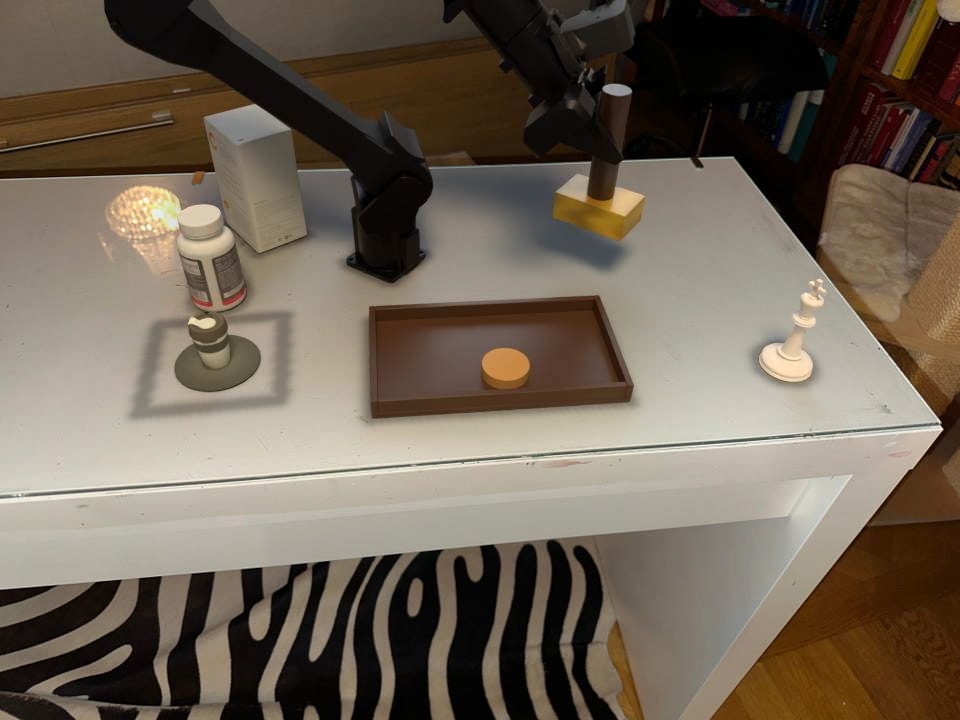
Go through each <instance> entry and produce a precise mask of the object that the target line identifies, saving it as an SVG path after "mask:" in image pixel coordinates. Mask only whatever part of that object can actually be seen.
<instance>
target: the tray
mask: <svg viewBox="0 0 960 720" xmlns="http://www.w3.org/2000/svg"><path fill="white" fill-rule="evenodd" d="M368 327H369V328H368V329H369V331H368V333H369V389H370V390H369V391H370V392H369V393H370V397H369V398H370V410H371V418H372V419H384V418H387V419H388V418H401V417H415V416H416V417H417V416H432V415H446V414H447V415H449V414H461V413H462V414H463V413H478V412H493V411H495V412H496V411H507V410H508V411H511V410H524V409H525V410H527V409H541V408H552V407H553V408H555V407H556V408H557V407H570V406H587V405H602V404H616V403H617V404H618V403H620V404H621V403H630V402H631V400H632V397H633V392H634V389H635V384H634V382H633V379H632V376H631V374H630V372H629V369H628V365H627V363H626V361H625V357H624V355H623V353H622V351H621V348H620V345H619V343H618V340H617V337H616V336H615V333H614V330H613V327H612V325H611V322H610V320H609V317H608V314H607V312H606V308H605V306H604V304H603V300H602V299H601V296H600V294H593V295H575V296H574V295H573V296H554V297H553V296H552V297H533V298H532V297H531V298H530V297H529V298H512V299H494V300H493V299H492V300H491V299H489V300H488V299H487V300H471V301H469V300H468V301H467V300H466V301H449V302H428V303H408V304H387V305H369V306H368ZM499 348H510V349H515V350H517V351H519V352H521V353H523V354H524V355H525V356H526V357H527V358H528V360H529V363H530V369H529V377H528V380H527V381H526V382H525V383H524V384H523V385H522V386H520V387H518V388H514V389H497V388H494V387H492V386H490V385H489V384H487V383H486V382H485V381H484V379H483V377H482V374H481V368H482V360H483V358H484V356H485V355H486V354H487V353H488V352H490V351H492V350H494V349H499Z"/></svg>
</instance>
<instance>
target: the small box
mask: <svg viewBox="0 0 960 720" xmlns="http://www.w3.org/2000/svg"><path fill="white" fill-rule="evenodd" d="M203 122H204V127H205V132H206V137H207V140H208V146H209V150H210V154H211V159H212V163H213V168H214V173H215V177H216V181H217V186H218V189H219V195H220V199H221V204H222V207H223V212H224V217H225V221H226V224H227V225H228V226H229V227H230V228H231V229H232V230H233V231H235V233H236V234H237V235H238V236H240V237H241V239H243V241H245V242H246V243H247V244H248V245H249V246H250V247H251V248H252V249H253V250H254V251H255V252H256V253H257V254H261V253H264V252H266V251H269V250H271V249H272V250H273V249H274V248H277V247H280V246H282V245H285V244H287V243H290V242H294V241H296V240H298V239H301V238H303V237H306V236H307V235H308V231H307V224H306V217H305V211H304V204H303V197H302V190H301V185H300V184H301V183H300V178H299V172H298V164H297V158H296V157H297V156H296V152H295V145H294V138H293V132H292V128H291V127H290V126H288V125H286V124H285V123H283V122H282V121H280V120H279V119H277V118H276V117H274V116H273V115H271V114H270V113H268V112H266V111H265V110H263V109H262V108H260V107H259V106H257V105H256V104H254V103H252V104H249V105H245V106H241V107H238V108H233V109H230V110H225V111H222V112H218V113H214V114H211V115H205V116H204V117H203Z"/></svg>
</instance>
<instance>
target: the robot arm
mask: <svg viewBox="0 0 960 720" xmlns="http://www.w3.org/2000/svg"><path fill="white" fill-rule="evenodd" d="M442 2H443V3H442V4H443V14H442V22H443V23H444V24H446V25H448V24H451V22H453V20H454V19H455V18H457V17H458V16H459V15H460V14H461V12H462V11H463V13H464V14H465V15H466V16H467V18H468V19H469V20H470V21H471V22H472V24H473V25H474V26H475V27H476V28H477V30H478V31H479V32H480V33H481V34H482V36H483V37H484V38H485V39H486V41H487V42H488V43H489V44H490V45H491V47H492V48H493V49H494V50H495V51H496V53H497V54H498V55H499V56H500V58H501V59H500V61H499V64H498V67H499V68H500V69H501V71H502V72H503V74H505V75H507V74H508V73H509V72H510V71H512V72H513V73H514V74H515V76H516V77H517V78H518V79H519V81H520V82H521V83H522V85H524V87H525V88H526V89H527V90H528V92H529V95H528V97H527V102H528V103H529V104H530V105H531V107H532V108H533V109H534V110H532V111H531V112H530V113H529V115H528V118H527V121H526V123H525V126H524V129H523V139H522V140H523V142H522V143H523V144H524V145H525V147H526V148H527V149H528V150H529V151H530V152H531V154H532V155H533V156H534V158H536V159H539V158H542V157H543V156H544V155H546V154H547V153H548V152H550V151H551V150H553V149H554V148H555V147H557V146H558V145H560V144H561V145H564V146H567V147H569V148H573V149H574V150H577V151H580V152H582V153H585V154H587V155H589V156H591V157H592V156H594V157H596V158H598V159H601V160H603V161H605V162H608V163H610V164H612V165H617V164H619V163H620V164H621V163H622V162H623V161H624V155H623V153H621V151H620V149H619V148H618V146H617V144H616V142H615V140H614V139H613V137H612V135H611V133H610V132H609V130H608V128H607V126H606V125H605V123H604V121H603V119H602V118H601V116H600V114H599V109H600V102H601V95H602V88H603V87H604V86H605V85H606V80H607V75H608V68H609V67H608V63H604V64H603V65H601V66H600V67H599V68H598V69H596V70H595V71H594V69H593V68H592V67H591V66H589V67H588V68H586V65H587V64H588V63H589V62H590V61H592V60H596V59H599V58H604V57H605V56H608V55H611V54H614V53H615V54H617V55H618V54H621V53H624V52H627V51H628V50H630V49H632V48H633V46H634V44H635V40H634V39H635V36H636V30H635V26H634V23H633V19H632V15H631V12H630V11H631V5H630V4H629V3H628V0H589V4H588V10H586V9H581V10H580V12H579V14H577V15H574V16H572V17H569V18H567V17H566V16H565V14H564V13H563V11H561V9H559V8H558V9H556V8H555V7H552V8H551V9H550V10H548V9H547V7H546V6H545V4H544V3H543V2H542V1H541V0H442ZM103 10H104V14H105V17H106V19H107V22H108V24H109V28H110V29H111V30H112V32H113V33H114V34H115V36H116V37H118V39H120V40H121V41H122V42H123V43H125V44H126V45H128V46H130V47H132V48H134V49H136V50H138V51H141V52H143V53H145V54H147V55H149V56H152V57H153V58H156V59H159V60H161V61H163V62H165V63H167V64H170V65H174V66H178V67H184V68H187V69H192V70H196V71H200V72H204V73H205V74H208V75H210V76H211V77H213V78H214V79H216V80H217V81H219V82H220V83H222V84H223V85H225V86H226V87H228V88H230V89H231V90H233V91H234V92H236V93H237V94H239V95H240V96H242V97H243V98H245V99H247V100H248V101H250V102H251V103H252V104H256V105H257V106H259V107H260V108H262V109H263V110H265V111H266V112H268V113H269V114H271V115H272V116H274V117H275V118H276V119H278V120H279V121H280V122H282V123H283V124H285V125H286V126H287V127H289V128H290V129H293V130H294V131H295V132H297V133H299V134H300V135H302V136H303V137H304V138H306V139H308V140H309V141H310V142H312V143H314V144H315V145H317V146H319V147H320V148H321V149H323V150H325V151H326V152H328V153H329V154H330V155H332V156H334V157H335V158H337V159H339V160H340V162H342V163H343V164H344V165H345V167H346V168H347V169H348V170H349V171H350V173H351V174H352V175H351V176H350V185H351V189H352V194H353V199H354V204H355V205H354V206H352V207H351V208H350V212H351V222H352V232H353V243H354V244H353V245H354V252H353V253H352V254H350V255H349V256H348V257H346V258H345V263H346V265H348V266H350V267H353V268H355V269H358V270H359V271H362V272H364V273H367V274H369V275H371V276H373V277H377V278H379V279H380V280H383V281H385V282H387V283H395V282H396V281H397V280H398V279H399V278H401V277H402V276H403V275H404V274H405V273H407V272H408V271H410V270H411V269H412V268H413V267H415V266H416V265H417V264H418V263H419V262H420V261H422V260H423V259H424V258H425V257H426V255H427V254H426V253H427V252H426V250H424V249H423V248H420V247H421V244H420V243H421V240H420V239H421V238H420V229H419V227H417V216H418V213H419V210H420V208H422V206H424V205H425V204H426V203H428V201H429V199H430V198H431V196H432V193H433V190H434V178H433V176H432V172H431V170H430V167H429V165H428V162H427V159H426V157H425V156H426V155H425V154H424V150H423V147H422V145H421V144H420V141H419V139H418V135H417V133H416V130H415V129H413V128H410V127H407V126H404V125H403V124H401V123H400V122H399V121H398V120H397V119H396V118H395V117H394V116H393V115H391V114H390V113H389V112H388V110H382V113H381V114H380V117H379V119H378V120H374V119H369V118H365V117H362V116H360V115H358V114H356V113H355V112H354V111H352V110H350V109H349V108H348V107H346V106H344V104H342V103H340V102H339V101H338V100H336V99H335V98H333V97H332V96H330V95H329V94H328V93H326V92H325V91H324V90H322V89H321V88H319V87H318V86H316V85H315V84H314V83H312V82H311V81H309V80H308V79H306V78H305V77H304V76H302V75H301V74H299V73H298V72H297V71H295V70H293V69H292V68H291V67H289V66H288V65H287V64H285V63H284V62H282V61H281V60H279V59H278V58H276V57H275V56H274V55H272V54H271V53H270V52H269V51H267V50H265V49H264V48H262V47H261V46H260V45H258V44H257V43H255V42H254V41H253V40H251V39H250V38H249V37H248V36H247V37H246V36H245V35H244V34H243V33H241V32H240V31H239V30H236V29H235V27H233V26H232V25H230V23H228V22H227V20H225V19H224V17H223V16H222V14H221V13H220V12H219V11H218V10H217V9H216V7H215V6H214V5H213V3H212V2H211V1H210V0H103ZM625 147H626V140H625V139H624V141H623V147H622V149H623V148H625ZM620 164H619V165H620Z"/></svg>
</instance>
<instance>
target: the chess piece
mask: <svg viewBox="0 0 960 720" xmlns="http://www.w3.org/2000/svg"><path fill="white" fill-rule="evenodd" d="M824 282H825V281H824V280H823V279H821V278H818V279H816V280H815V281H814V280H811V281H808V283H807V287H808V288H809V289H811V291H805V292H802V293H801V294H800V297H799V305H800V308H799V309H800V310H798V311H795V312H794V313H793V314H792V315H791V321H792V323H794V326H793V328H792V330H791V332H790V334H789V335H788V337H787V338H786V340H785V342H772V343H770V344H767V345H766V346H764V348H763V349H762V351H761V352H760V354H759V356H758V362H759V365H760V367H761V368H762V369H763V371H765V372H766V373H767V374H768V375H770V376H771V377H773V378H775V379H777V380H780V381H784V382H789V383H798V382H803V381H806V380H807V379H809V377H811V375H812V372H813V368H814V362H813V359H812V358H811V356H810V355H809V354H808V353H807V352H806V351H805V350H804V349H802V346H803V342H804V338H805V335H806V331H807V329H810V328H813V327H815V326H816V325H817V319H816V317H815V316H814V315H815V314H816V313H817V312H818V310H819V309H821V308H822V307H823V306H824V304H825V300H824V297H825V296H826V294H827V292H828V291H827V290H826V289H825V288H823V285H824Z"/></svg>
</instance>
